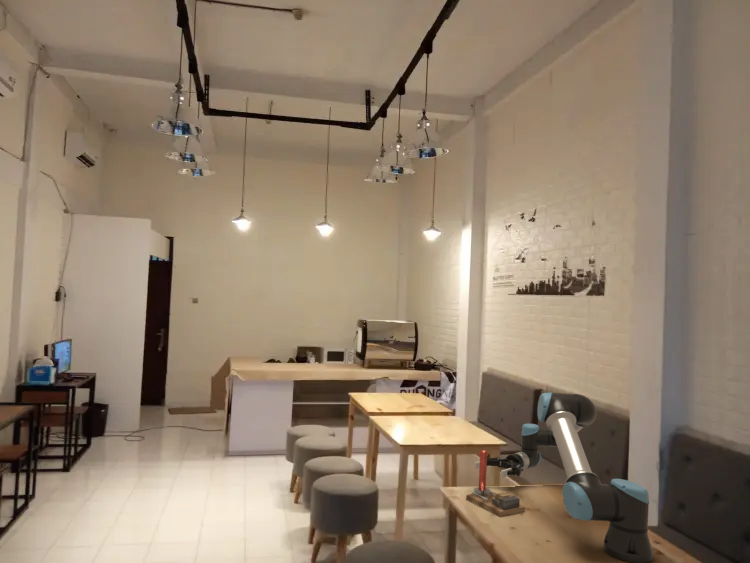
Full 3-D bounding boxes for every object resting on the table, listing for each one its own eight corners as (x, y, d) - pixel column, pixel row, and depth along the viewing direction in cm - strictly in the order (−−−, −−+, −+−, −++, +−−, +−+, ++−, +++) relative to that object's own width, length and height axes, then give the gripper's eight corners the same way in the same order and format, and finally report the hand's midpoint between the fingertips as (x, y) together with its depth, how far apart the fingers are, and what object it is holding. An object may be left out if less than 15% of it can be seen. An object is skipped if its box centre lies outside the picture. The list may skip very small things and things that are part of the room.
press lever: (495, 497, 224) (497, 452, 225) (485, 498, 222) (487, 453, 223) (483, 491, 231) (485, 448, 231) (473, 493, 228) (475, 449, 229)
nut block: (509, 505, 217) (509, 494, 217) (501, 506, 215) (502, 496, 215) (501, 501, 220) (502, 491, 220) (494, 503, 218) (495, 492, 218)
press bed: (524, 512, 216) (525, 497, 216) (500, 517, 209) (501, 502, 209) (489, 495, 233) (490, 482, 233) (466, 499, 226) (466, 486, 226)
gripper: (541, 478, 236) (513, 487, 222) (493, 463, 254) (464, 470, 240) (542, 460, 236) (513, 468, 222) (494, 447, 255) (465, 453, 241)
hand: (488, 469), depth 231 cm, fingers open, 13 cm apart
